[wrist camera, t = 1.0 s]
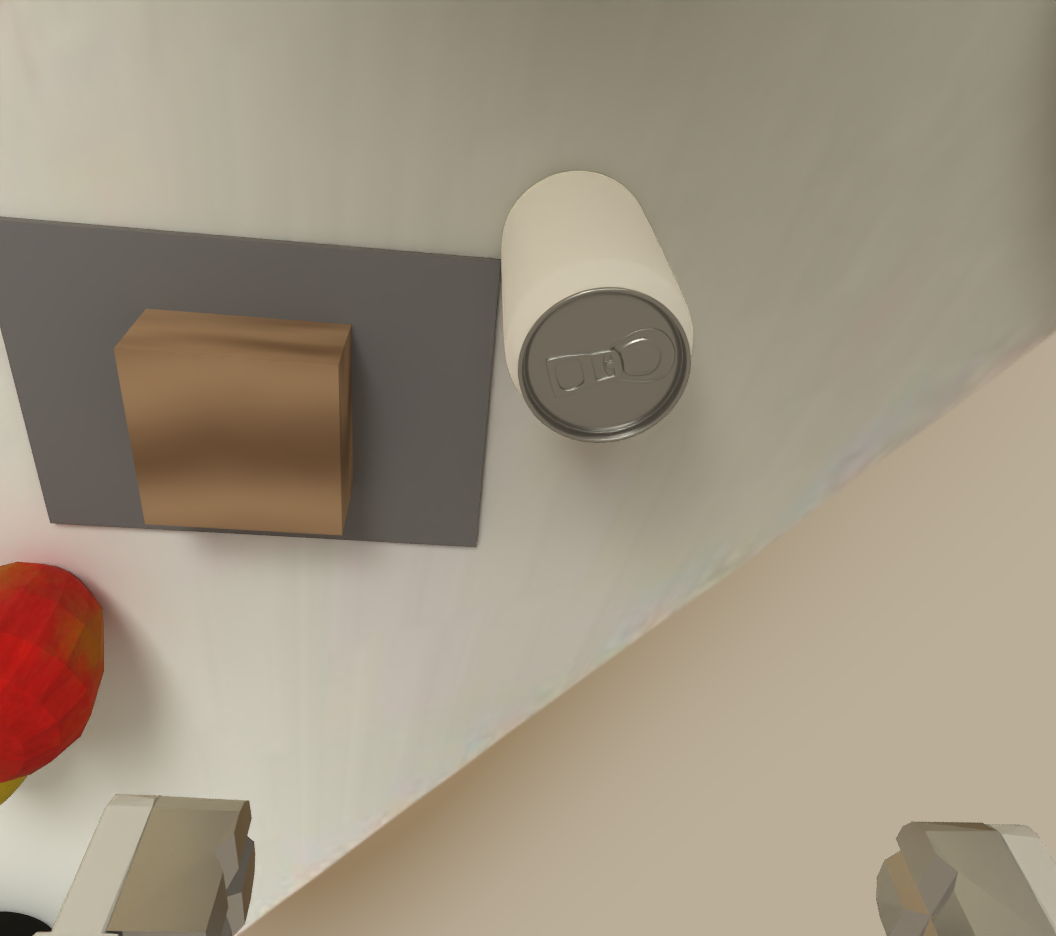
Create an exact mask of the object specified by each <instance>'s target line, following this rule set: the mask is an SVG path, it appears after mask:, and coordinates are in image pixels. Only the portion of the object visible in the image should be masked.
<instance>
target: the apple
mask: <svg viewBox="0 0 1056 936" xmlns="http://www.w3.org/2000/svg"><path fill="white" fill-rule="evenodd" d="M103 672H104V634H103V614H102V607H101V606H100V605H99V603H98V602H97V601H96V599H95V598H94V597H93V595H92V594H91V593H90V591H89V590H88V589H87V588H86V587H85V585H84V584H83V583H82V582H81V581H80V580H79V579H78V578H76V577H75V576H74V575H73V574H71V573H70V572H68V571H66V570H63V569H61V568H59V567H56V566H51V565H46V564H36V563H24V562H15V563H11V564H7V565H3V566H0V783H4V782H7V781H10V780H14V779H17V778H20V777H24V776H27V775H30V774H32V773H34V772H35V771H37V770H38V769H40V768H42V767H43V766H45V765H46V764H48V763H50V762H51V761H52V760H54V759H55V758H56V757H57V756H58V755H59V754H61V753H62V752H63V751H64V750H65V749H66V748H67V747H69V746H70V745H71V744H72V743H73V742H74V741H76V740H77V739H78V738H79V737H80V736H81V734H82V732H83V730H84V728H85V726H86V724H87V722H88V720H89V718H90V716H91V713H92V709H93V706H94V703H95V699H96V696H97V692H98V689H99V686H100V682H101V679H102V675H103Z"/></svg>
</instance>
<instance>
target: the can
mask: <svg viewBox="0 0 1056 936" xmlns="http://www.w3.org/2000/svg"><path fill="white" fill-rule="evenodd" d="M501 271H502V306H503V333H504V349H505V357H506V363H507V367H508V370H509V373H510V376H511V379H512V381H513V383H514V385H515V387H516V389H517V390H518V392H519V393H520V394H521V396H522V397H523V398H524V400H525V401H526V403H527V405H528V407H529V408H530V410H531V411H532V412H533V414H534V415H535V416H536V417H537V418H538V419H539V420H540V421H541V422H542V423H543V424H544V425H546V426H547V427H548V428H550V429H551V430H553V431H555V432H557V433H559V434H561V435H563V436H565V437H568V438H571V439H574V440H579V441H584V442H593V443H605V442H614V441H619V440H623V439H627V438H630V437H633V436H635V435H638V434H640V433H642V432H644V431H646V430H648V429H649V428H651V427H652V426H654V425H655V424H657V423H658V422H659V421H661V420H662V419H663V418H664V417H665V416H666V415H667V414H668V413H669V412H670V411H671V410H672V409H673V407H674V406H675V405H676V403H677V402H678V400H679V399H680V397H681V395H682V393H683V391H684V389H685V387H686V384H687V381H688V378H689V373H690V366H691V356H692V351H693V340H694V337H693V326H692V320H691V316H690V312H689V309H688V307H687V304H686V302H685V299H684V297H683V294H682V292H681V290H680V288H679V286H678V283H677V281H676V279H675V277H674V275H673V273H672V270H671V268H670V266H669V264H668V262H667V260H666V258H665V256H664V253H663V251H662V249H661V247H660V245H659V243H658V241H657V239H656V237H655V234H654V232H653V230H652V228H651V226H650V224H649V222H648V220H647V218H646V216H645V214H644V212H643V210H642V208H641V206H640V205H639V203H638V201H637V200H636V199H635V197H634V196H633V195H632V194H631V193H630V192H629V191H628V190H627V189H626V188H625V187H624V186H623V185H621V184H620V183H618V182H617V181H615V180H613V179H612V178H610V177H607V176H605V175H602V174H599V173H595V172H590V171H567V172H562V173H558V174H555V175H552V176H549V177H547V178H545V179H543V180H541V181H539V182H538V183H536V184H534V185H533V186H532V187H530V188H529V189H528V190H527V191H526V192H525V193H524V194H523V195H522V196H521V197H520V198H519V199H518V200H517V202H516V203H515V205H514V206H513V208H512V209H511V211H510V213H509V215H508V217H507V220H506V223H505V226H504V230H503V234H502V243H501Z"/></svg>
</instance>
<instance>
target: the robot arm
mask: <svg viewBox="0 0 1056 936" xmlns="http://www.w3.org/2000/svg"><path fill="white" fill-rule="evenodd" d="M251 819H252V817H251V811H250V804H249V801H247V800H227V799H208V798H188V797H168V796H155V795H126V794H116V795H115V796H114V797H113V799H112V800H111V801H110V802H109V804H108V805H107V806H106V807H105V809H104V812H103V814H102V816H101V818H100V821H99V823H98V825H97V828H96V830H95V832H94V834H93V837H92V839H91V841H90V844H89V846H88V848H87V851H86V853H85V855H84V857H83V860H82V862H81V864H80V867H79V869H78V871H77V873H76V876H75V878H74V880H73V883H72V885H71V887H70V890H69V892H68V894H67V896H66V899H65V901H64V903H63V906H62V908H61V910H60V912H59V915H58V917H57V919H56V922H55V924H54V926H53V929H52V931H51V932H36V933H35V934H34V935H33V936H234V935H235V934H236V933H237V932H238V931H239V930H240V929H241V928H242V927H243V925H244V924H245V921H246V917H247V913H248V908H249V904H250V900H251V893H252V886H253V879H254V870H255V848H254V841H252V840H251V839H250V838H249V837H248V836H247V834H248V830H249V826H250V822H251ZM896 840H897V842H898V845H899V847H900V850H901V851H899V852H897V853H896V854H894V855H893V856H891V857H889V858H888V859H886V860H885V861H884V862H883V865H882V867H881V869H880V872H879V874H878V876H877V888H876V889H877V890H876V900H877V905H878V910H879V915H880V918H881V922H882V924H883V927H884V929H885V932H886V935H887V936H1056V863H1055V862H1054V860H1053V859H1052V857H1051V855H1050V854H1049V852H1048V850H1047V849H1046V847H1045V846H1044V844H1043V842H1042V840H1041V839H1040V837H1039V836H1038V835H1037V833H1035V832H1034V831H1033V830H1032V829H1031V828H1029V827H1028V826H1023V825H996V824H995V825H993V824H992V825H991V824H983V823H963V822H960V823H959V822H911V823H908V824H906V825H904V826H903V827H902V829H901V830H900V832H899V834H898V836H897V838H896Z"/></svg>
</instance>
